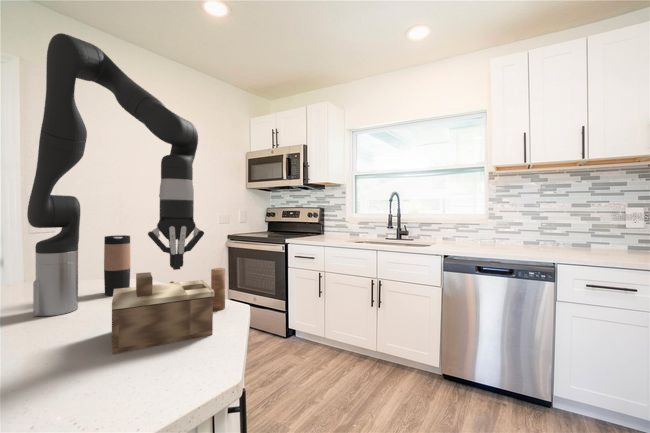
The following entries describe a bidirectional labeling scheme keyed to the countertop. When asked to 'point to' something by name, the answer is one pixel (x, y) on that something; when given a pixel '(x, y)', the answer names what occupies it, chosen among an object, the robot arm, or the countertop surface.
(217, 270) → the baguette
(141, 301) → the lid
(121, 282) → the travel mug
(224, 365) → the countertop surface
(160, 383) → the countertop surface
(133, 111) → the robot arm
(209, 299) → the wooden box
